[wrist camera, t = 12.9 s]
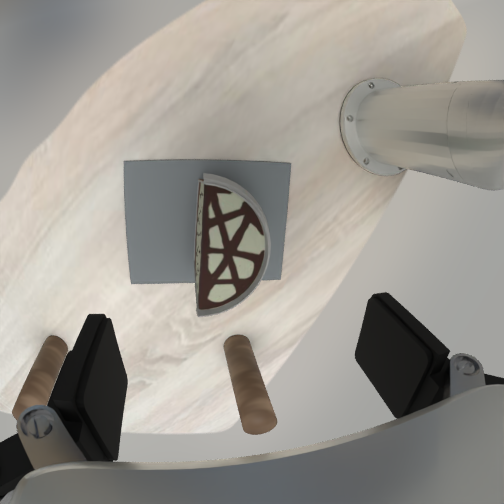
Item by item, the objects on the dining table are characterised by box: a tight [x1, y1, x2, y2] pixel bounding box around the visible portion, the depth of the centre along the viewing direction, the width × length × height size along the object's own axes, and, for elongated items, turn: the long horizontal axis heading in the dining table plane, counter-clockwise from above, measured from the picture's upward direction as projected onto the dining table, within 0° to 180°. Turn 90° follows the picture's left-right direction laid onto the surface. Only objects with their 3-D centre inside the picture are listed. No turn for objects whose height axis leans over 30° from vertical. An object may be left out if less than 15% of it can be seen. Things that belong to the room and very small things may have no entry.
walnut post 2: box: [224, 335, 277, 435], centre depth 34 cm, size 4×4×14 cm
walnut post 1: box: [12, 336, 68, 420], centre depth 28 cm, size 4×4×14 cm
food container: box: [194, 173, 271, 317], centre depth 29 cm, size 12×6×10 cm, turn 174°
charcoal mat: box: [124, 160, 291, 284], centre depth 33 cm, size 18×14×1 cm
